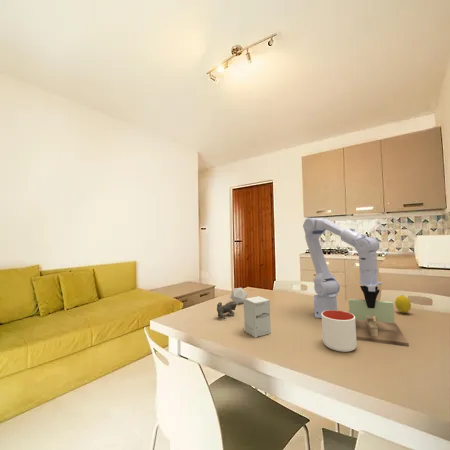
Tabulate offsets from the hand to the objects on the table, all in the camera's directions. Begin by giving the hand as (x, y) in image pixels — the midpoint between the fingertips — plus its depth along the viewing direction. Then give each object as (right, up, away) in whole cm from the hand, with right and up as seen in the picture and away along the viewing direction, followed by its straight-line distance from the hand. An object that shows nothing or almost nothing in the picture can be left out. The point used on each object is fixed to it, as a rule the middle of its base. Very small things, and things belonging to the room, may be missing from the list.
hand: (370, 306), depth 88 cm
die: (-46, -12, +42) cm, 64 cm away
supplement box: (-41, -11, +2) cm, 43 cm away
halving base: (0, -9, 0) cm, 9 cm away
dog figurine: (-52, -12, +21) cm, 58 cm away
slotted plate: (0, -5, 0) cm, 5 cm away
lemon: (+25, -9, +17) cm, 31 cm away
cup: (-16, -9, -10) cm, 21 cm away
